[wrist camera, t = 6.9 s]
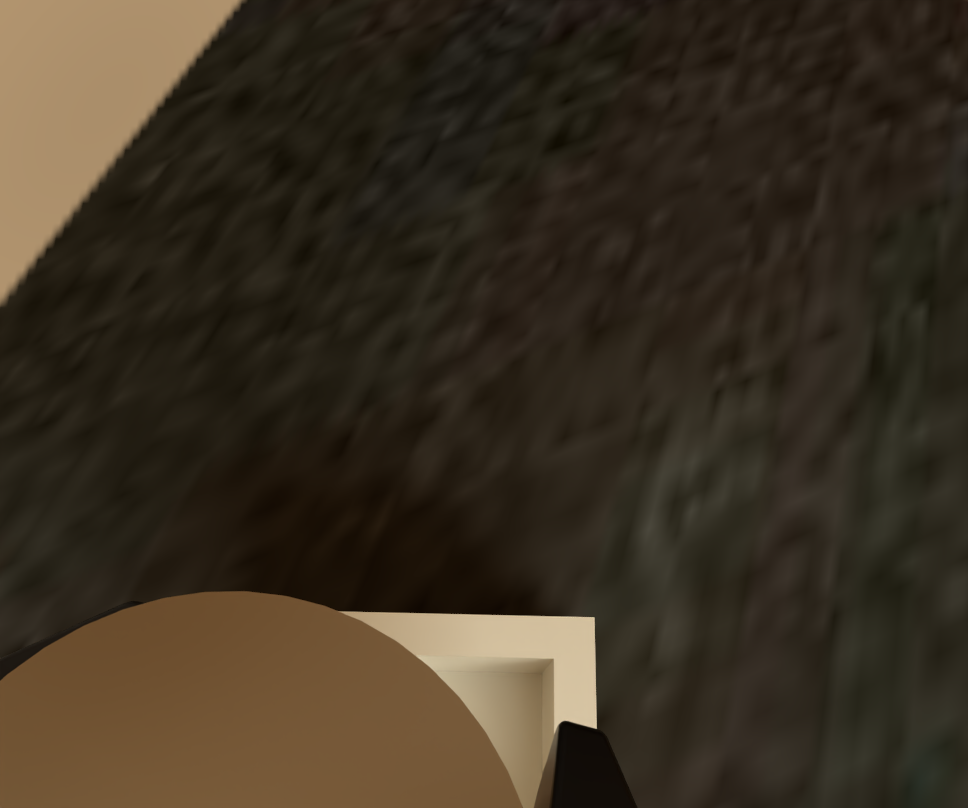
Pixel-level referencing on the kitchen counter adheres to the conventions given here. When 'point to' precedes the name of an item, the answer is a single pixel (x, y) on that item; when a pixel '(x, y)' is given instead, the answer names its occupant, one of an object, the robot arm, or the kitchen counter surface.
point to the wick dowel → (239, 715)
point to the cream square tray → (507, 677)
